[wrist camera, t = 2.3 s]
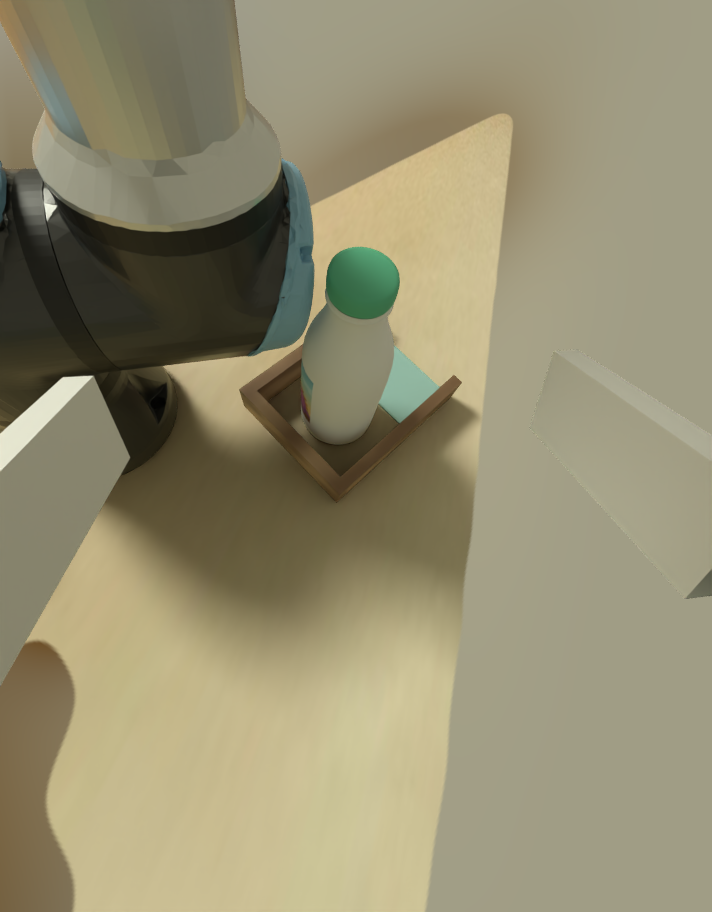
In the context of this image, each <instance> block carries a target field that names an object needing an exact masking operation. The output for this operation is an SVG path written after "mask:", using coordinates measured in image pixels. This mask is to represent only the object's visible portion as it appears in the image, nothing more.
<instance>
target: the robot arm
mask: <svg viewBox="0 0 712 912" xmlns="http://www.w3.org/2000/svg"><path fill="white" fill-rule="evenodd" d="M0 23H1V25H2V27H3V29H4V31H5V33H6V35H7V36H8V38H9V40H10V42H11V44H12V46H13V48H14V50H15V52H16V54H17V56H18V58H19V60H20V62H21V64H22V66H23V68H24V69H25V71H26V73H27V75H28V77H29V79H30V81H31V83H32V85H33V87H34V89H35V91H36V93H37V95H38V97H39V99H40V100H41V102H42V104H43V106H44V108H45V110H44V112H43V115H42V117H41V120H40V122H39V124H38V127H37V130H36V132H35V135H34V138H33V146H32V152H33V159H34V163H35V165H36V167H37V169H26V168H25V169H5V168H3V167H2V163H1V161H0V686H1V684H2V682H3V680H4V679H5V677H6V675H7V673H8V671H9V670H10V668H11V666H12V664H13V663H14V661H15V659H16V658H17V656H18V654H19V652H20V650H21V649H22V647H23V645H24V643H25V642H26V640H27V638H28V636H29V635H30V633H31V631H32V629H33V628H34V626H35V624H36V622H37V621H38V619H39V617H40V615H41V614H42V612H43V610H44V608H45V607H46V605H47V603H48V601H49V600H50V598H51V596H52V594H53V593H54V591H55V589H56V587H57V586H58V584H59V582H60V580H61V578H62V577H63V575H64V573H65V571H66V570H67V568H68V566H69V564H70V563H71V561H72V559H73V557H74V556H75V554H76V552H77V550H78V549H79V547H80V545H81V543H82V542H83V540H84V538H85V536H86V535H87V533H88V531H89V529H90V528H91V526H92V524H93V522H94V521H95V519H96V517H97V515H98V513H99V512H100V510H101V508H102V506H103V505H104V503H105V501H106V499H107V498H108V496H109V494H110V492H111V491H112V489H113V487H114V485H115V484H116V482H117V480H118V478H119V477H120V475H123V474H125V473H127V472H129V471H131V470H133V469H135V468H137V467H138V466H140V465H141V464H143V463H144V462H146V461H147V460H148V459H149V458H150V457H152V456H153V455H154V454H155V453H156V452H157V451H158V450H159V448H160V447H161V446H162V445H163V444H164V442H165V441H166V439H167V438H168V436H169V434H170V432H171V430H172V428H173V425H174V422H175V419H176V414H177V396H176V391H175V388H174V385H173V383H172V381H171V379H170V377H169V376H168V374H167V372H166V371H165V369H164V367H163V366H165V365H173V364H181V363H190V362H198V361H206V360H215V359H223V358H232V357H240V356H255V355H257V354H259V353H261V352H263V351H268V350H273V349H278V348H283V347H287V346H290V345H292V344H293V343H295V342H296V341H297V340H298V339H299V338H300V337H301V335H302V334H303V332H304V330H305V328H306V326H307V323H308V319H309V316H310V311H311V305H312V298H313V289H314V263H313V259H312V256H311V254H312V249H313V244H314V242H313V223H312V215H311V208H310V202H309V197H308V193H307V189H306V186H305V182H304V180H303V177H302V175H301V173H300V171H299V170H298V168H297V167H296V166H295V165H294V164H293V163H291V162H289V161H285V160H284V159H281V150H280V144H279V141H278V138H277V135H276V133H275V132H274V130H273V128H272V126H271V125H270V124H269V122H268V121H267V120H266V119H265V118H264V117H263V116H262V114H261V113H260V112H259V111H258V110H257V109H256V108H255V107H254V106H253V105H252V104H251V103H250V102H249V101H248V100H247V99H246V97H245V89H244V80H243V71H242V62H241V54H240V45H239V36H238V28H237V19H236V10H235V1H234V0H0ZM529 428H530V429H531V430H532V431H533V432H534V434H535V435H536V436H537V437H538V438H539V439H540V440H541V441H542V442H543V443H544V445H545V446H546V447H547V448H548V449H549V450H550V451H551V452H552V453H553V454H554V456H555V457H556V458H557V459H558V460H559V461H560V462H561V463H562V464H563V465H564V467H565V468H566V469H567V470H568V471H569V472H570V473H571V474H572V475H573V477H574V478H575V479H576V480H577V481H578V482H579V483H580V484H581V485H582V486H583V487H584V488H585V490H586V491H587V492H588V493H589V494H590V495H591V496H592V497H593V498H594V500H595V501H596V502H597V503H598V504H599V505H600V506H601V507H602V508H603V510H604V511H605V512H606V513H607V514H608V515H609V516H610V517H611V518H612V520H613V521H614V522H615V523H616V524H617V525H618V526H619V527H620V528H621V529H622V531H624V533H625V534H626V535H627V536H628V537H629V538H630V539H631V540H632V541H633V542H634V544H635V545H636V546H637V547H638V548H639V549H640V550H641V551H642V552H643V554H644V555H645V556H646V557H647V558H648V559H649V560H650V561H651V562H652V564H653V565H654V566H655V567H656V568H657V569H658V570H659V571H660V572H661V574H662V575H663V576H664V577H665V578H666V579H667V580H668V581H669V582H670V583H671V585H672V586H673V587H674V588H675V589H676V590H677V591H678V592H679V593H680V594H681V596H682V597H683V598H684V599H689V598H697V597H704V596H712V435H711V434H709V433H708V432H706V431H704V430H703V429H701V428H700V427H698V426H697V425H695V424H693V423H692V422H690V421H689V420H687V419H686V418H684V417H683V416H681V415H679V414H678V413H676V412H675V411H673V410H672V409H670V408H668V407H667V406H665V405H664V404H662V403H661V402H659V401H657V400H656V399H654V398H653V397H651V396H649V395H648V394H646V393H645V392H643V391H642V390H640V389H639V388H637V387H635V386H634V385H632V384H631V383H629V382H628V381H626V380H624V379H623V378H621V377H619V376H618V375H617V374H615V373H614V372H612V371H610V370H609V369H607V368H605V367H604V366H602V365H601V364H599V363H598V362H596V361H595V360H593V359H592V358H590V357H588V356H587V355H585V354H584V353H582V352H581V351H579V350H559V351H554V352H553V355H552V358H551V361H550V364H549V368H548V371H547V374H546V377H545V380H544V383H543V386H542V389H541V393H540V396H539V399H538V402H537V405H536V408H535V411H534V414H533V417H532V421H531V424H530V427H529Z"/></svg>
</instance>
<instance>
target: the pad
mask: <svg viewBox="0 0 712 912" xmlns="http://www.w3.org/2000/svg"><path fill="white" fill-rule="evenodd" d="M439 388H440V387H439V386H438V385H436V384H435V383H434V382H433V381H432V380H431V379H430V378H429V377H428V376H427V375H426V374H425V373H424V372H422V371H421V370H420V369H419V368H418V367H417V366H416V365H415V364H414V363H413V362H412V361H411V360H410V359H408V358H407V357H406V356H405V355H404V354H403V353H402V352H401V351H400V350H399V349H398V348H397V347H396V346H394V359H393V365H392V369H391V372H390V375H389V378H388V381H387V384H386V386H385V389H384V391H383V394H382V397H381V399H380V401H379V405H380V406H381V407H382V408H383V409H384V410H385V411H386V412H387V413H388V414H389V415H390V416H391V417H393V418H394V419H395V420H396V421H397V422H398V423H399V424H400V423H401V422H402V421H403V420H404V419H405V418H406V417H408V416H409V415H410V414H411V413H412V412H413V411H414V410H415V409H417V408H418V407H419V406H420V405H421V404H422V403H423V402H424V401H425V400H427V399H428V398H429V397H430V396H431V395H432V394H433V393H434V392H435V391H437V390H438V389H439Z"/></svg>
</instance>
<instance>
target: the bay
mask: <svg viewBox="0 0 712 912" xmlns="http://www.w3.org/2000/svg"><path fill="white" fill-rule="evenodd" d="M302 349H303V345H301V346H300V347H298V348H297V349H296V350H294V351H293V352H291V353H290V354H289V355H287V356H286V357H284V358H283V359H281V360H280V361H279V362H277V363H276V364H274V365H273V366H272V367H270V368H269V369H267V370H266V371H265V372H263V373H262V374H260V375H259V376H257V377H256V378H255V379H253V380H252V381H250V382H249V383H248V384H246V385H245V386H243V387H242V388H241V389H239V390H240V393H241V397H242V400H243V403H244V406H245V407H246V408H247V409H248V410H249V411H250V412H251V413H252V414H253V415H254V416H255V417H256V419H257V420H258V421H259V422H260V423H261V424H262V425H263V426H264V427H265V428H266V429H267V430H268V431H269V432H270V433H271V434H272V435H273V436H274V437H275V438H276V440H277V441H278V442H279V443H280V444H281V445H282V446H283V447H284V448H285V449H286V450H287V451H288V452H289V453H290V454H291V455H292V456H293V457H294V458H295V459H296V461H297V462H298V463H299V464H300V465H301V466H302V467H303V468H304V469H305V470H306V471H307V472H308V473H309V474H310V475H311V476H312V477H313V478H314V479H315V480H316V482H317V483H318V484H319V485H320V486H321V487H322V488H323V489H324V490H325V491H326V492H327V493H328V494H329V495H330V496H331V497H332V498H333V499H334V500H335V501H336V502H338V501H339V500H340V499H341V498H342V497H343V496H344V495H346V494H347V493H348V492H349V491H350V490H351V489H352V488H353V487H354V486H355V485H356V484H357V483H358V482H360V481H361V480H362V479H363V478H364V477H365V476H366V475H367V474H368V473H369V472H370V471H371V470H373V469H374V468H375V467H376V466H377V465H378V464H379V463H380V462H381V461H382V460H383V459H384V458H386V457H387V456H388V455H389V454H390V453H391V452H392V451H393V450H394V449H395V448H396V447H397V446H399V445H400V444H401V443H402V442H403V441H404V440H405V439H406V438H407V437H408V436H409V435H410V434H411V433H413V432H414V431H415V430H416V429H417V428H418V427H419V426H420V425H421V424H422V423H423V422H424V421H426V420H427V419H428V418H429V417H430V416H431V415H432V414H433V413H434V412H435V411H436V410H437V409H439V408H440V407H441V406H442V405H443V404H444V403H445V402H446V401H447V400H448V399H449V398H450V397H451V396H452V395H453V393H454V392H455V391H456V390H457V388H458V387H459V386H460V384H461V383H462V382H461V381H460V380H459V379H458V378H457V377H456V376H454V375H453V376H452V377H451V378H450V379H449V380H448V381H447V382H445V383H444V384H443V385H442V386H441V387H440V388H439V389H438V390H437V391H435V392H434V393H433V394H432V395H431V396H430V397H429V398H428V399H427V400H425V401H424V402H423V403H422V404H421V405H420V406H419V407H418V408H417V409H415V410H414V411H413V412H412V413H411V414H410V415H409V416H408V417H406V418H405V419H404V420H403V421H402V422H401V423H400V424H399V425H398V426H396V427H395V428H394V429H393V430H392V431H391V432H390V433H389V434H388V435H386V436H385V437H384V438H383V439H382V440H381V441H380V442H379V443H378V444H376V445H375V446H374V447H373V448H372V449H371V450H370V451H369V452H368V453H366V454H365V455H364V456H363V457H362V458H361V459H360V460H359V461H357V462H356V463H355V464H354V465H353V466H352V467H351V468H350V469H349V470H347V471H346V472H345V473H344V474H343V475H342V476H341V477H340V476H339V475H338V474H337V473H336V472H335V471H334V470H333V469H332V468H331V467H330V466H329V465H328V464H327V463H326V461H325V460H324V459H323V458H322V457H321V456H320V455H319V454H318V453H317V452H316V451H315V450H314V449H313V448H312V447H311V446H310V445H309V444H308V443H307V442H306V441H305V440H304V439H303V438H302V437H301V436H300V435H299V434H298V433H297V432H296V431H295V429H294V428H293V427H292V426H291V425H290V424H289V423H288V422H287V421H286V420H285V419H284V418H283V417H282V416H281V415H280V414H279V413H278V412H277V411H276V410H275V409H274V408H273V407H272V406H271V405H270V404H269V403H268V402H267V401H269V400H270V399H271V398H273V397H274V396H275V395H277V394H278V393H279V392H281V391H282V390H284V389H285V388H286V387H288V386H289V385H290V384H292V383H293V382H294V381H296V380H297V379H298V378H300V377H301V362H302Z"/></svg>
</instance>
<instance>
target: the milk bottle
mask: <svg viewBox="0 0 712 912" xmlns="http://www.w3.org/2000/svg"><path fill="white" fill-rule="evenodd" d="M399 284H400V279H399V273H398V270H397V268H396V266H395V264H394V263H393V262H392V261H391V260H390V259H389V258H388V257H387V256H386V255H384V254H383V253H381V252H379V251H377V250H374V249H371V248H366V247H352V248H348V249H345V250H343V251H341V252H339V253H338V254H336V255H335V256H334V257H333V259H332V260H331V262H330V264H329V267H328V270H327V277H326V291H325V297H326V301H327V303H326V305H325V307H324V308H323V309H322V310H321V311H320V312H319V313H318V314H317V316H316V317H315V318H314V320H313V321H312V323H311V324H310V326H309V328H308V331H307V333H306V336H305V339H304V343H303V349H302V362H301V415H302V420H303V422H304V425H305V427H306V428H307V430H308V431H309V432H310V433H311V434H312V435H313V436H314V437H316V438H317V439H319V440H321V441H323V442H325V443H329V444H334V445H342V444H347V443H351V442H353V441H355V440H357V439H359V438H360V437H361V436H362V435H363V434H364V433H365V432H366V430H367V429H368V427H369V425H370V423H371V421H372V418H373V416H374V414H375V411H376V409H377V406H378V404H379V401H380V399H381V397H382V394H383V391H384V389H385V386H386V384H387V381H388V378H389V375H390V372H391V369H392V365H393V359H394V341H393V336H392V332H391V329H390V326H389V323H388V317H387V316H388V315H389V314H390V313H391V311H392V309H393V305H394V302H395V299H396V297H397V294H398V290H399Z"/></svg>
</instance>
